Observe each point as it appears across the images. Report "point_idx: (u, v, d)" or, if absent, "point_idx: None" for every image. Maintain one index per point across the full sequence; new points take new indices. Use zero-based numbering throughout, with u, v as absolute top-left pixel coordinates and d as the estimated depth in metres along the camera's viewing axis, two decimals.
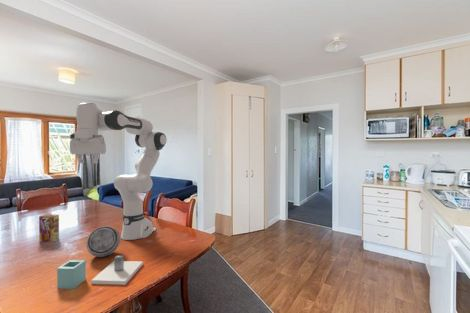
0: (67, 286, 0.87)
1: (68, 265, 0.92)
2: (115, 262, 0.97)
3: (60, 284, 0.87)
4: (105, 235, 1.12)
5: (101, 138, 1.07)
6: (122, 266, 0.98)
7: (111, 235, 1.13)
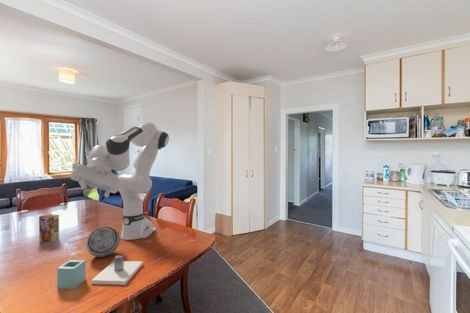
0: (67, 286, 0.87)
1: (68, 265, 0.92)
2: (115, 262, 0.97)
3: (60, 284, 0.87)
4: (105, 235, 1.12)
5: None
6: (122, 266, 0.98)
7: (111, 235, 1.13)
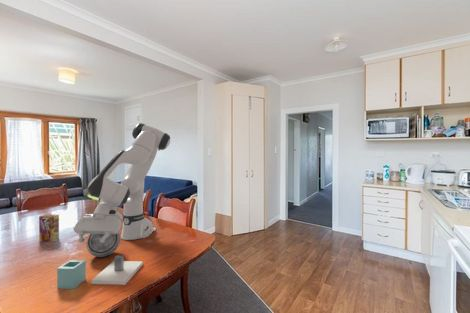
0: (67, 286, 0.87)
1: (68, 265, 0.92)
2: (115, 262, 0.97)
3: (60, 284, 0.87)
4: None
5: None
6: (122, 266, 0.98)
7: (111, 235, 1.13)
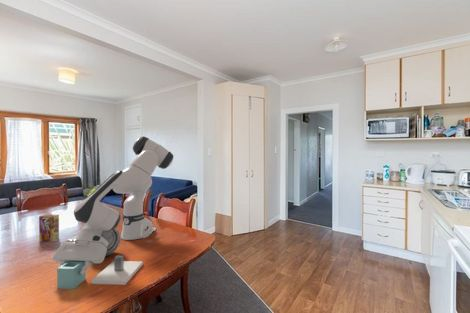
0: (67, 286, 0.87)
1: (68, 265, 0.92)
2: (115, 262, 0.97)
3: (60, 284, 0.87)
4: (105, 235, 1.12)
5: None
6: (122, 266, 0.98)
7: (111, 235, 1.13)
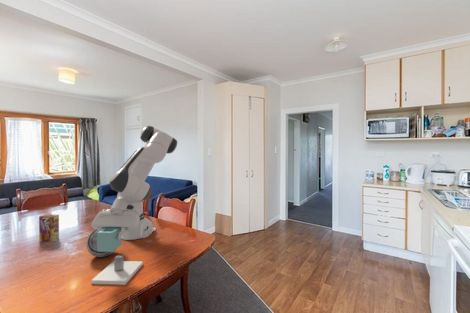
0: (106, 249, 0.93)
1: (105, 231, 0.98)
2: (115, 262, 0.97)
3: (100, 247, 0.93)
4: None
5: None
6: (122, 266, 0.98)
7: None
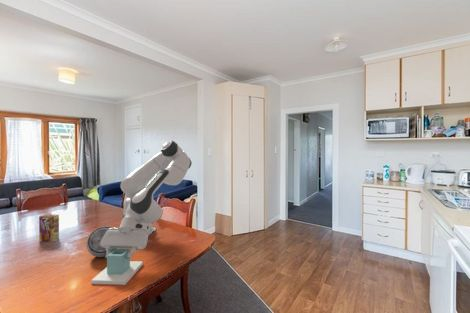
0: (116, 272, 0.95)
1: (115, 253, 0.99)
2: None
3: (109, 270, 0.95)
4: None
5: None
6: None
7: None
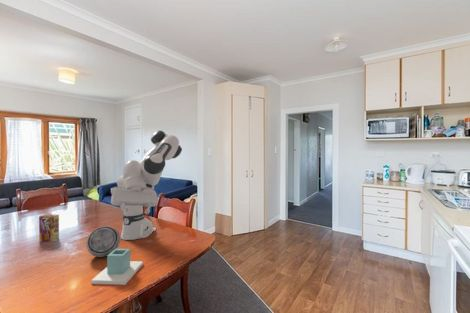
0: (116, 272, 0.95)
1: (115, 253, 0.99)
2: None
3: (110, 270, 0.95)
4: (105, 235, 1.12)
5: None
6: None
7: (111, 235, 1.13)
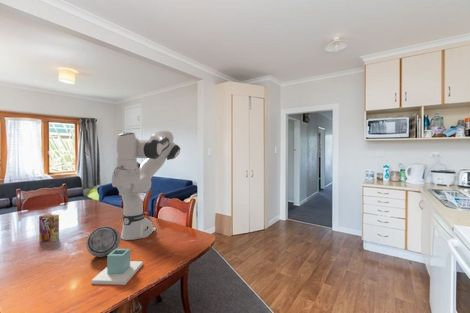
0: (116, 272, 0.95)
1: (115, 253, 0.99)
2: None
3: (110, 270, 0.95)
4: (105, 235, 1.11)
5: None
6: None
7: (111, 235, 1.13)
